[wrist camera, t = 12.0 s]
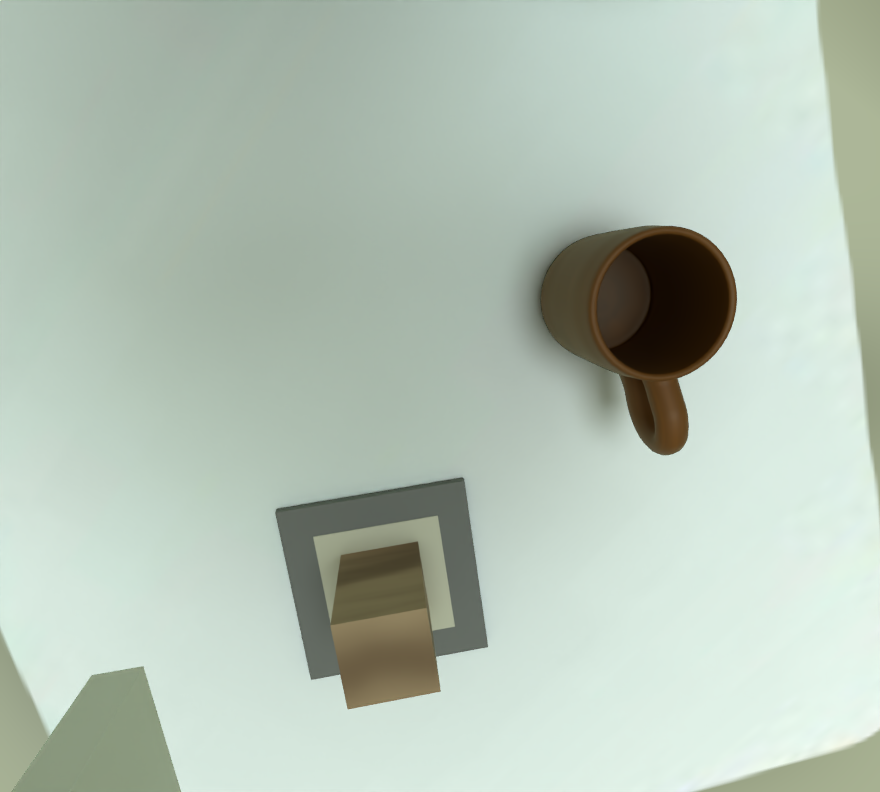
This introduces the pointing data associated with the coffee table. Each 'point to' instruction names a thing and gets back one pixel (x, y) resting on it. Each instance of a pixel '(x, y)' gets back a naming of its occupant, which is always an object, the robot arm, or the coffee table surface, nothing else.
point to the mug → (643, 316)
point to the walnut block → (383, 626)
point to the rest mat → (376, 526)
